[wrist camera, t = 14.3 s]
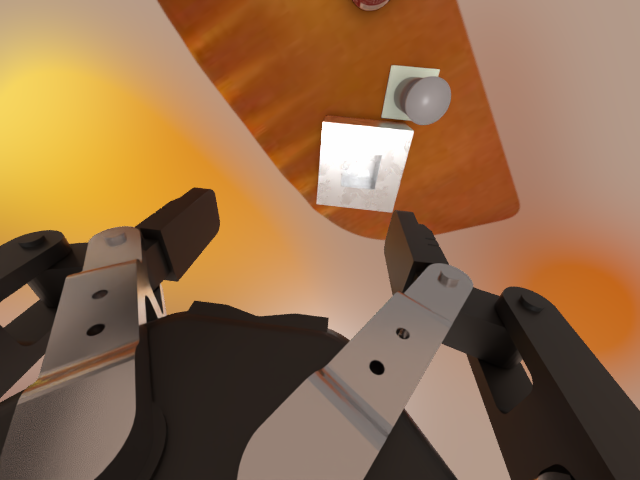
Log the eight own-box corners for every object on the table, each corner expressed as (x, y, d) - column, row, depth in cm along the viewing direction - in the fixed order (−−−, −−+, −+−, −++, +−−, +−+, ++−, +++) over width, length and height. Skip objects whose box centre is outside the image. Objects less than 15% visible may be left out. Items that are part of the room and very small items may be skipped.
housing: (320, 188, 49) (316, 204, 43) (326, 115, 41) (322, 122, 36) (386, 195, 48) (392, 212, 42) (404, 122, 41) (413, 131, 35)
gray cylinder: (389, 111, 40) (401, 122, 31) (397, 73, 37) (412, 74, 28) (420, 114, 40) (442, 127, 30) (430, 77, 37) (457, 78, 28)
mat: (381, 117, 41) (381, 117, 40) (391, 65, 37) (391, 65, 36) (424, 121, 41) (425, 121, 40) (438, 69, 37) (440, 69, 36)
